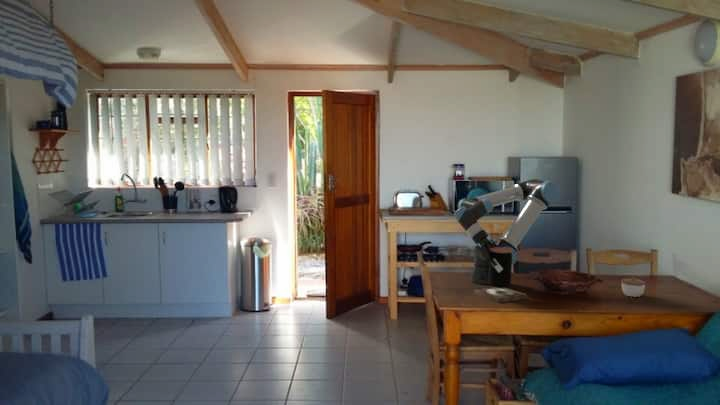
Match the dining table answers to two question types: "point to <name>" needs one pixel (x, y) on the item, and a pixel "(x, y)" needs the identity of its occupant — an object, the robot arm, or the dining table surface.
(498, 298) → the walnut board
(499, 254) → the coffee jar
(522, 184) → the robot arm
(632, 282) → the lidded jar
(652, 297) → the dining table surface
